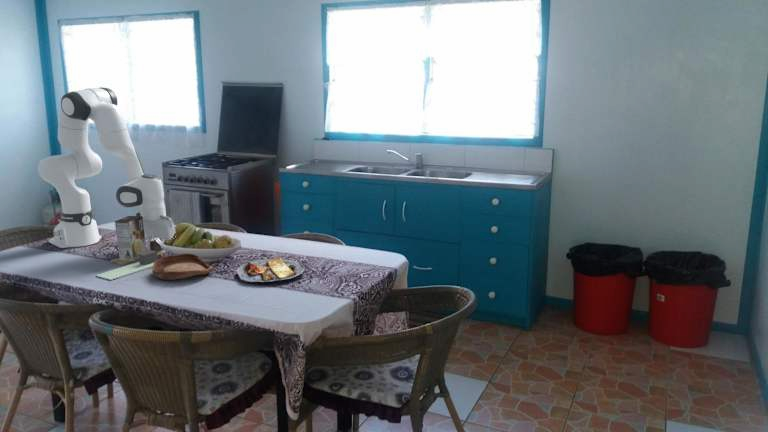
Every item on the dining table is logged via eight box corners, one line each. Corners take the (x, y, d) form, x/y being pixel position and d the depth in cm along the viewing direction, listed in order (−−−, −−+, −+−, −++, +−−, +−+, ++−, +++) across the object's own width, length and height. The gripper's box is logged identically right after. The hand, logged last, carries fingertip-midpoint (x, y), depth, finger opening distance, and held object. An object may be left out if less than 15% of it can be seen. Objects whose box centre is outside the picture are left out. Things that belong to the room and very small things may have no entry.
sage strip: (95, 276, 222) (94, 264, 221) (148, 260, 241) (146, 249, 239) (111, 280, 217) (109, 268, 216) (163, 263, 236) (162, 252, 235)
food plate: (231, 268, 229) (231, 259, 228) (292, 260, 238) (292, 252, 237) (244, 291, 207) (244, 281, 206) (310, 282, 216) (310, 272, 215)
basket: (223, 275, 223) (222, 262, 222) (171, 289, 209) (170, 275, 208) (192, 262, 238) (191, 249, 237) (142, 274, 225) (141, 261, 223)
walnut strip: (110, 261, 239) (108, 250, 238) (157, 247, 257) (156, 237, 256) (124, 265, 234) (123, 254, 233) (172, 250, 253) (171, 240, 252)
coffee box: (133, 253, 247) (128, 215, 243) (147, 254, 246) (143, 216, 242) (119, 260, 239) (114, 220, 235) (133, 261, 237) (129, 221, 233)
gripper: (177, 215, 246) (180, 248, 249) (144, 210, 256) (148, 241, 259) (165, 218, 240) (168, 252, 244) (131, 213, 251) (135, 245, 254)
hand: (157, 246), depth 252 cm, fingers open, 4 cm apart
